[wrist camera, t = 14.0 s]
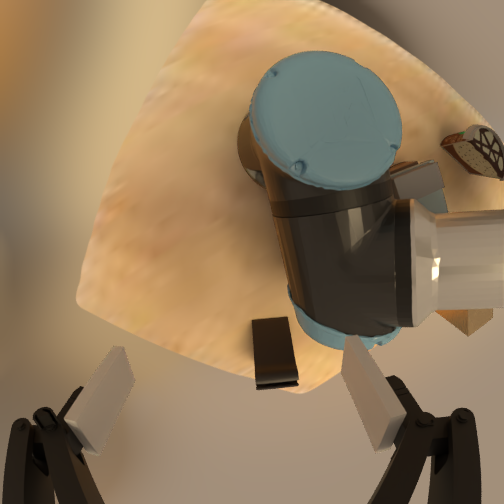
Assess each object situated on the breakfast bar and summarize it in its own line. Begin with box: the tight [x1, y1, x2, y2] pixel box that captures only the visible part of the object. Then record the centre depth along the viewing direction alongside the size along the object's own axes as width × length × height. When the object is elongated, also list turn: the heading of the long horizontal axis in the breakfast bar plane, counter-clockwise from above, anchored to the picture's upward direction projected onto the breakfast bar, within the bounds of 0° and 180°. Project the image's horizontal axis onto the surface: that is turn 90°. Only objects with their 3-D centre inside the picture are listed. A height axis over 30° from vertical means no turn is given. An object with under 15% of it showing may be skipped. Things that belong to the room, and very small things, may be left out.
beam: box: [390, 160, 448, 214], centre depth 34 cm, size 22×10×4 cm, turn 23°
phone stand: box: [252, 317, 299, 390], centre depth 41 cm, size 9×6×12 cm, turn 5°
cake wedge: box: [440, 125, 504, 181], centre depth 34 cm, size 12×6×10 cm, turn 65°
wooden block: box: [435, 308, 493, 336], centre depth 30 cm, size 5×5×11 cm
